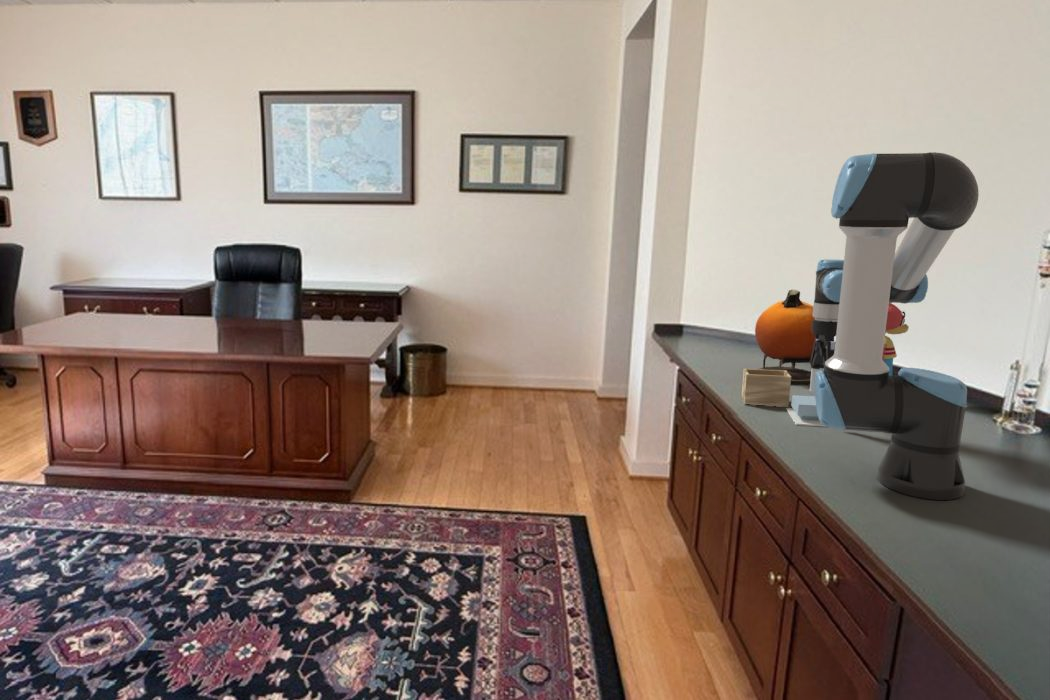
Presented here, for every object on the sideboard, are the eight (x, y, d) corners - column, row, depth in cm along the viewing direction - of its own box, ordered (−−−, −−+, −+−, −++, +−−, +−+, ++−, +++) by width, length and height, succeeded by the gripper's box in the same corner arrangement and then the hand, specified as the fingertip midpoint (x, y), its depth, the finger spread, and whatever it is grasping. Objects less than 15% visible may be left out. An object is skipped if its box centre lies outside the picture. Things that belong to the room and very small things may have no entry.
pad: (854, 428, 163) (854, 427, 163) (796, 424, 166) (796, 423, 166) (839, 412, 177) (839, 411, 177) (786, 409, 180) (786, 408, 180)
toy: (909, 403, 185) (922, 300, 179) (871, 401, 187) (883, 299, 181) (891, 389, 199) (903, 294, 193) (856, 388, 201) (867, 293, 195)
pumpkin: (778, 366, 231) (785, 283, 224) (837, 379, 212) (846, 289, 206) (738, 374, 219) (744, 287, 213) (797, 389, 200) (805, 294, 194)
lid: (848, 423, 166) (850, 407, 165) (797, 420, 168) (798, 404, 167) (839, 413, 174) (841, 397, 173) (790, 410, 177) (792, 395, 176)
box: (788, 407, 182) (791, 376, 180) (744, 404, 184) (746, 374, 182) (783, 399, 189) (786, 370, 187) (741, 397, 191) (743, 368, 189)
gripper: (857, 326, 153) (849, 411, 157) (831, 313, 177) (824, 387, 181) (824, 325, 155) (816, 410, 159) (802, 312, 179) (796, 386, 183)
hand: (820, 398), depth 170 cm, fingers open, 13 cm apart
